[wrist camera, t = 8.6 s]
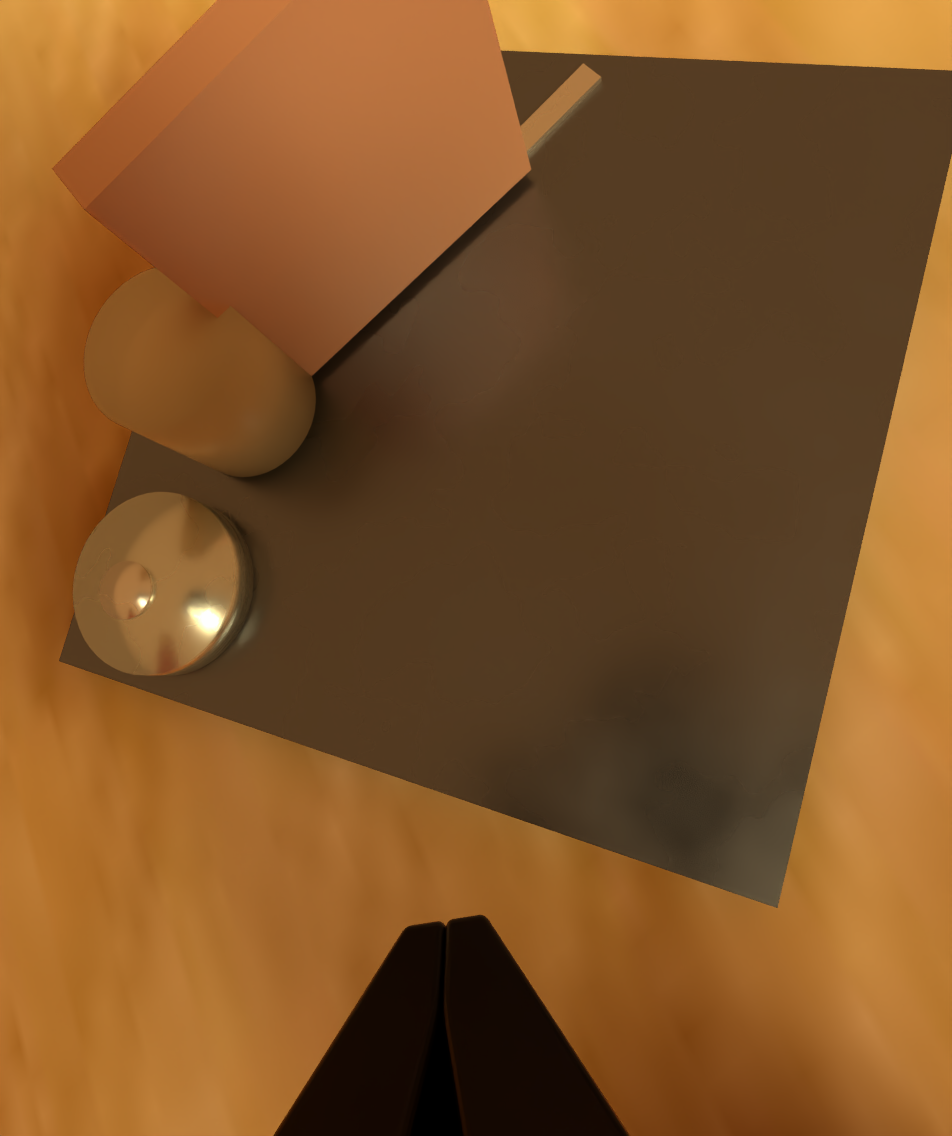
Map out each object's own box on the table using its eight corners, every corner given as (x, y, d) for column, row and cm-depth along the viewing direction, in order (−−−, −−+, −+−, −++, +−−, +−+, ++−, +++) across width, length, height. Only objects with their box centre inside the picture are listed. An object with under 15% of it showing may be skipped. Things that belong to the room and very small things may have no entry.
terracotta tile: (237, 506, 20) (-19, 400, 13) (164, 408, 21) (-113, 257, 14) (565, 201, 19) (501, -115, 12) (471, 114, 20) (355, -227, 13)
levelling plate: (955, 103, 19) (991, 30, 16) (771, 895, 17) (785, 924, 15) (273, 65, 24) (236, 7, 22) (84, 661, 22) (26, 659, 20)
